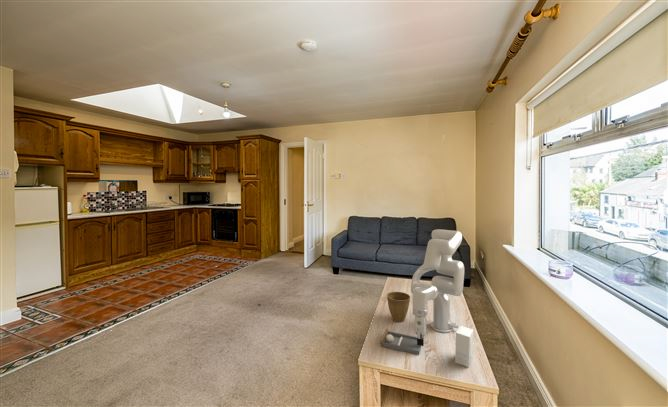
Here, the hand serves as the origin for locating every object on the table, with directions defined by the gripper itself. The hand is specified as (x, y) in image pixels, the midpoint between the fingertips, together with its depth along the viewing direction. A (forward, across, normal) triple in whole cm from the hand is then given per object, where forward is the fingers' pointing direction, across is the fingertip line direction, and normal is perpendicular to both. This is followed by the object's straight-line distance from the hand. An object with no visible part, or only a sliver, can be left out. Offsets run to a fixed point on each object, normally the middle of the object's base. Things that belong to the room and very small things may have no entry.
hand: (420, 344), depth 144 cm
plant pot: (+2, +26, +17) cm, 32 cm away
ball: (0, -1, +16) cm, 16 cm away
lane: (+2, 0, +10) cm, 10 cm away
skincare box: (+2, -3, -21) cm, 22 cm away
